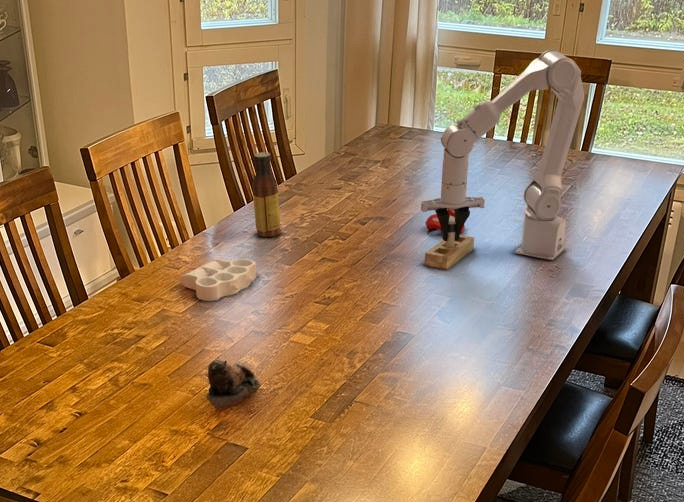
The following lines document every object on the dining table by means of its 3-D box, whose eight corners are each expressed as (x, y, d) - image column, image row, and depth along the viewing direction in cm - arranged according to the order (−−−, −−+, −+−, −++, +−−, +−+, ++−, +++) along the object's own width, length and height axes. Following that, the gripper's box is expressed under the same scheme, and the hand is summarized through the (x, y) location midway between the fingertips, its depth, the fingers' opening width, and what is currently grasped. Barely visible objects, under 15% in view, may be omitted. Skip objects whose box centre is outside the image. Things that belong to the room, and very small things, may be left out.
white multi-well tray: (221, 265, 236) (270, 278, 229) (171, 291, 224) (222, 306, 217) (220, 251, 234) (270, 264, 227) (169, 277, 222) (221, 291, 215)
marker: (455, 256, 238) (457, 222, 233) (451, 259, 236) (453, 224, 231) (447, 254, 239) (449, 220, 234) (442, 257, 237) (445, 223, 232)
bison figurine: (236, 383, 188) (233, 334, 183) (268, 391, 186) (265, 342, 180) (200, 411, 180) (195, 361, 174) (233, 420, 177) (229, 370, 171)
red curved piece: (470, 230, 248) (433, 224, 246) (464, 245, 251) (427, 239, 249) (461, 204, 256) (425, 197, 254) (455, 218, 259) (419, 212, 257)
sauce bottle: (282, 229, 255) (279, 150, 243) (279, 238, 250) (276, 158, 238) (256, 229, 255) (252, 150, 244) (253, 238, 250) (249, 157, 239)
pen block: (473, 249, 241) (474, 237, 239) (446, 269, 231) (447, 257, 229) (451, 245, 244) (452, 233, 242) (424, 265, 234) (425, 252, 232)
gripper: (480, 174, 231) (475, 231, 239) (419, 177, 229) (416, 235, 237) (489, 183, 225) (484, 241, 233) (426, 187, 224) (423, 245, 232)
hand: (450, 239), depth 235 cm, fingers closed on marker, 2 cm apart
